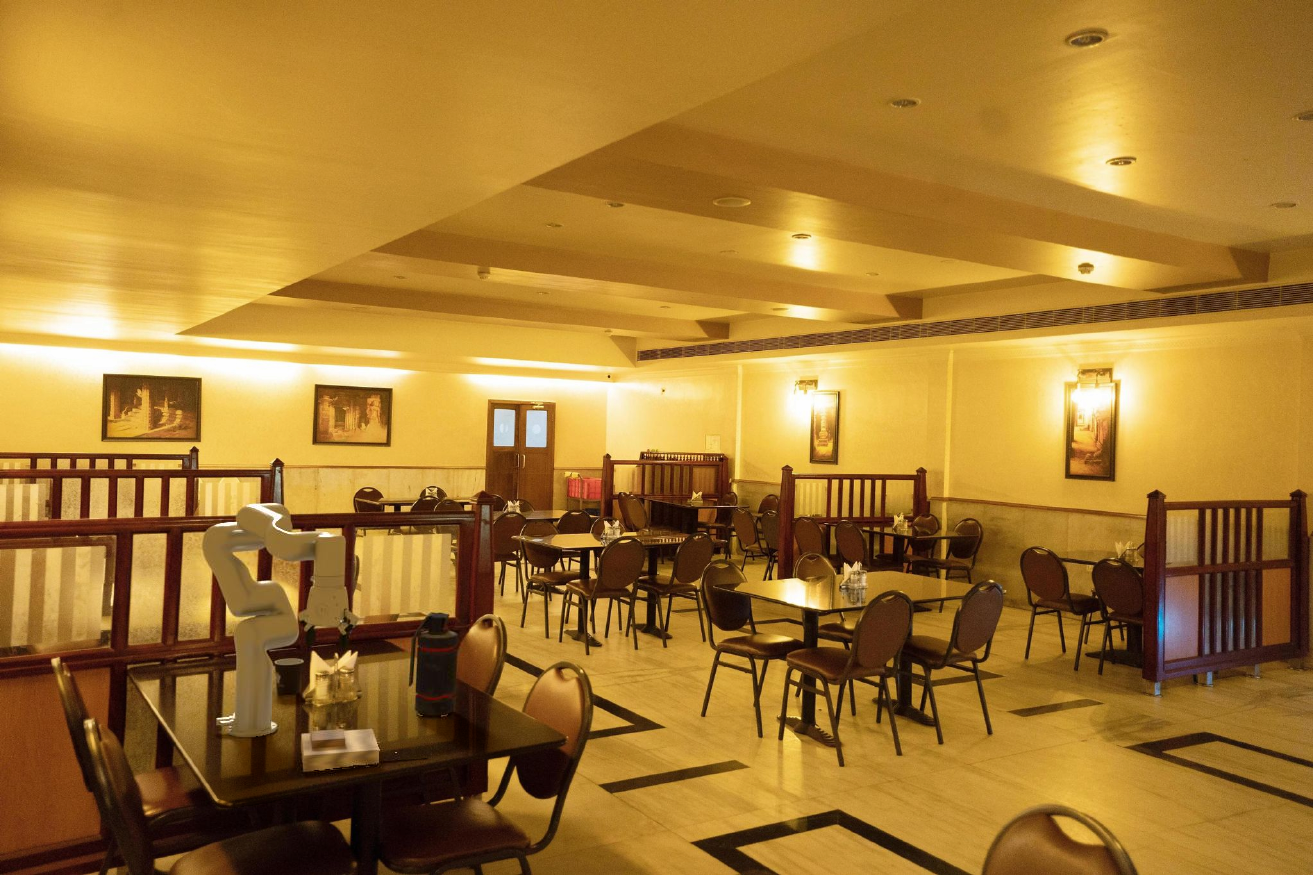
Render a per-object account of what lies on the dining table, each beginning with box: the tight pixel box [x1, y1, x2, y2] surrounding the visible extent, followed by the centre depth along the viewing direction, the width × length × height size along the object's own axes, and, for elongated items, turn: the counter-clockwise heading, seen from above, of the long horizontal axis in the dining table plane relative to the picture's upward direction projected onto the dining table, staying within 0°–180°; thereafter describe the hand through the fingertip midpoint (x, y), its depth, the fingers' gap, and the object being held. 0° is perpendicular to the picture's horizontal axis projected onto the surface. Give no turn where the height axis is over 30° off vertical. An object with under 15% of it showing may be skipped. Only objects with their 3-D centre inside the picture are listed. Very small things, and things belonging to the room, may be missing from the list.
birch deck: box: [300, 728, 380, 773], centre depth 249 cm, size 18×18×4 cm
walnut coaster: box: [310, 728, 345, 749], centre depth 248 cm, size 8×8×2 cm
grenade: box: [408, 611, 459, 716], centre depth 292 cm, size 14×12×30 cm
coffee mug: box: [274, 658, 305, 696], centre depth 308 cm, size 12×9×10 cm
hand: (326, 647), depth 252 cm, fingers open, 9 cm apart
